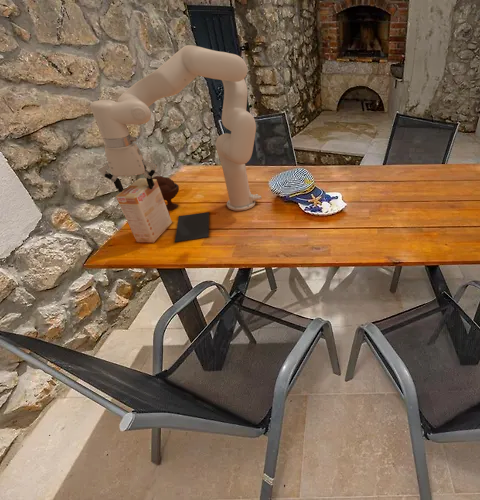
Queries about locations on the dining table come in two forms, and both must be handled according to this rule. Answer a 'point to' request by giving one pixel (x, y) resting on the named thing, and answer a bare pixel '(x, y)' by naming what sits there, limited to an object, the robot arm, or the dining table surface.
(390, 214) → the dining table surface
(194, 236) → the mat
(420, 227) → the dining table surface
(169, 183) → the ice cream bowl
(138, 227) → the coffeecake box
